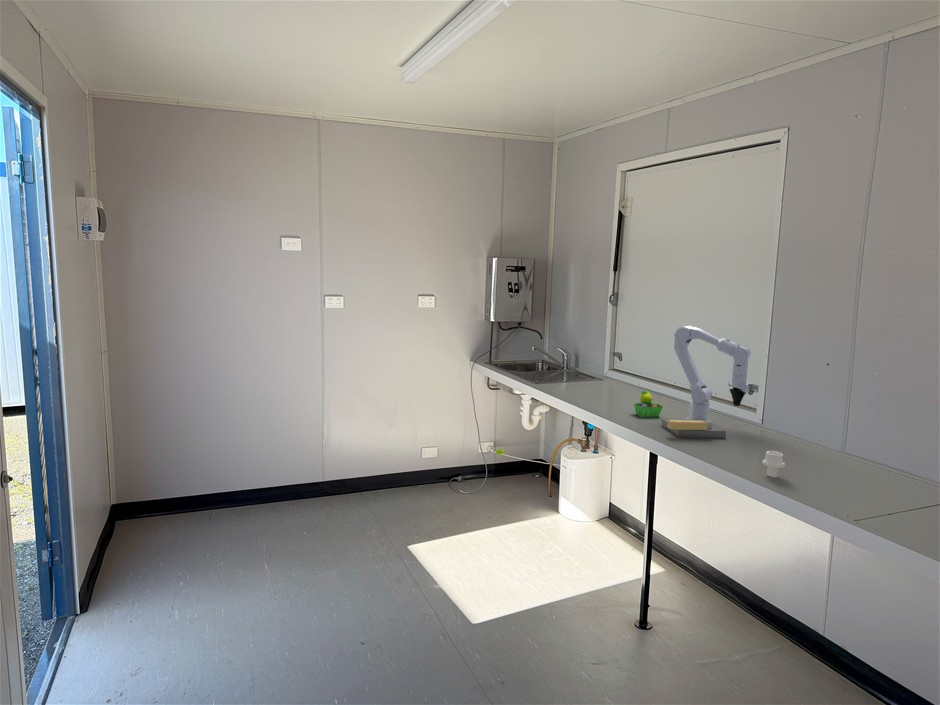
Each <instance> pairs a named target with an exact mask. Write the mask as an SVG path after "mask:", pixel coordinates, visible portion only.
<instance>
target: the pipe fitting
mask: <svg viewBox="0 0 940 705" xmlns="http://www.w3.org/2000/svg"><path fill="white" fill-rule="evenodd" d="M783 458H784V454H783V453H782V452H779V451H776V450H767V451H766V452H765V459H763V460H762V461H761V464H762V465H764V466H765V467H767V469H766V470H767V471H766V476H767V475H768V476H767V477H769V476H770V478H777V477H778V475H779V469H782V468H785V466H786V463H785V462H783V460H784V459H783Z"/></svg>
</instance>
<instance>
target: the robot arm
mask: <svg viewBox="0 0 940 705" xmlns="http://www.w3.org/2000/svg"><path fill="white" fill-rule="evenodd" d="M673 336H674V345H673V349H674V351H675V355H677V356H676V357H677V358H678V360H679V363H680V365H681V368H682V369H683V371H684V373H685V375H686V378H687V380H688V382H689V385H690V386H689V390H690V392H691V393H690V394H691V396H690V397H691V399H692V401H691V402H690V403H689V404H688V409H687V410H688V412H687V417H685V419H691V420H708V421H709V414H710V413H709V412H710V399H711V398H712V395H713V392H712V390H711V389H710V388H709V387H708V386H707V384H706V383H705V382H704V381H703V380H702V377H701V375H700V373H699V371H698V368H697V367H696V365H695V363H694V360H693V358H692V356H691V354H690V351H689V349H688V348H689V345H690V343H691V342H692V340H697V339H700V340H702V341H704V342H706V343H708V344H711V345H713V346H715V347H716V348H717V350H718V351H719V352H722V353H724V354H726V355H728V356H729V357H732V358H733V366H732V373H731V374H732V376H731V381H727V382H728V383H727V386H728V387H732V388H729V392H730V395H731V398H732V403H733V406H734V407H740V406H741V404H742V400H743V399H744V396H745V395H746V394H747V393H750V388H749V385H748V384H747V377H748V366H749V365H748V364H749V358H750V356H751V351H750V349H749V348H748V347H747V346H745V345H741V343H736V342H733V341H731V338H721V339H720V338H718V337H716V336H715V335H713V334H711V333H708V332H707V331H705V330H703V329H701V328H699V327H694V326H693V325H689V324H688V325H685V326H680V327H678V328H677V329H676V331H675V332H674V335H673Z"/></svg>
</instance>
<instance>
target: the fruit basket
mask: <svg viewBox="0 0 940 705" xmlns="http://www.w3.org/2000/svg"><path fill="white" fill-rule="evenodd" d="M639 398H640V399H639V400H640V402H638V403H637V402H636V403H633V406H634V409H635V414H636V415H637V416H639V417H641V418H655V417H656V418H657V417H660V414H661V412H662V409H663V408H664V406H663V405H661V404H659V403H656V402H652V400H653V396H652V394H651V393H650V391H648V390H646V389H645V390H642V392H641V395H640V397H639Z"/></svg>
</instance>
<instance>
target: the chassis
mask: <svg viewBox="0 0 940 705" xmlns="http://www.w3.org/2000/svg"><path fill="white" fill-rule="evenodd" d="M668 420H691V419H686V418H684V419H683V418H682V419H681V418H661V427H663V428H664V429H666V430H667V431H669V432H670V433H671V434H673V435H674V436H676V437H677V438H693V439H695V438H697V439H698V438H701V439H726V437H727V431H726V430H725V429H723V428H721V427H719V426H718V425H716V424H715V423H714V422H712V430H684V429H670V428H668V427H667V424H668Z"/></svg>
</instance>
